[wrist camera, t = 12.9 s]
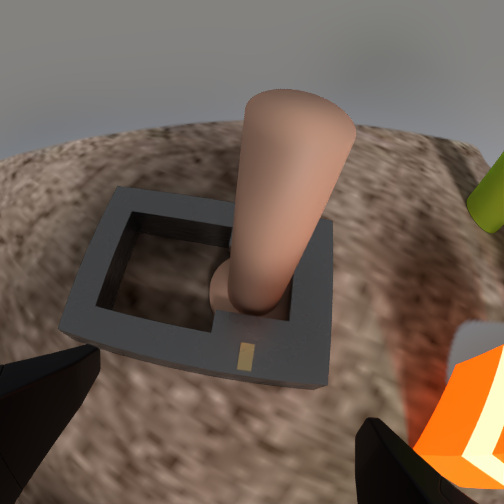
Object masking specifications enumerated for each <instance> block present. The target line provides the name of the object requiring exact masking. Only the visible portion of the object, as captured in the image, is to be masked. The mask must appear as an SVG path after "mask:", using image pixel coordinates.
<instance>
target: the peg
mask: <svg viewBox="0 0 504 504" xmlns="http://www.w3.org/2000/svg"><path fill="white" fill-rule="evenodd" d="M355 138H356V128H355V125H354V123H353V121H352V120H351V118H350V117H349V116H348V115H347V114H346V113H345V112H344V111H343V110H342V109H341V108H340V107H338V106H337V105H335V104H334V103H332V102H330V101H329V100H326V99H324V98H322V97H320V96H317V95H315V94H311V93H308V92H304V91H299V90H292V89H276V90H269V91H265V92H262V93H259V94H257V95H255V96H254V97H252V98H251V99H250V100H249V101H248V103H247V105H246V108H245V116H244V125H243V134H242V143H241V152H240V162H239V171H238V181H237V191H236V201H235V211H234V222H233V232H232V243H231V254H230V258H229V259H227V260H226V261H225V262H223V263H222V264H221V265H220V266H219V267H218V268H217V270H216V271H215V273H214V275H213V277H212V279H211V283H210V291H209V294H210V306H211V310H212V313H213V315H214V316H215V311H216V309H217V310H222V311H228V312H233V313H239V314H245V315H251V316H257V317H264V318H270V319H276V320H283V321H287V318H288V308H289V298H290V287H291V277H292V275H293V273H294V271H295V269H296V267H297V265H298V263H299V261H300V259H301V257H302V255H303V252H304V250H305V248H306V246H307V244H308V242H309V240H310V238H311V236H312V234H313V232H314V229H315V227H316V225H317V223H318V221H319V219H320V217H321V214H322V212H323V210H324V208H325V206H326V204H327V201H328V199H329V197H330V195H331V193H332V190H333V188H334V186H335V184H336V182H337V179H338V177H339V175H340V173H341V170H342V168H343V166H344V163H345V161H346V159H347V157H348V154H349V152H350V150H351V147H352V145H353V143H354V140H355Z"/></svg>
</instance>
